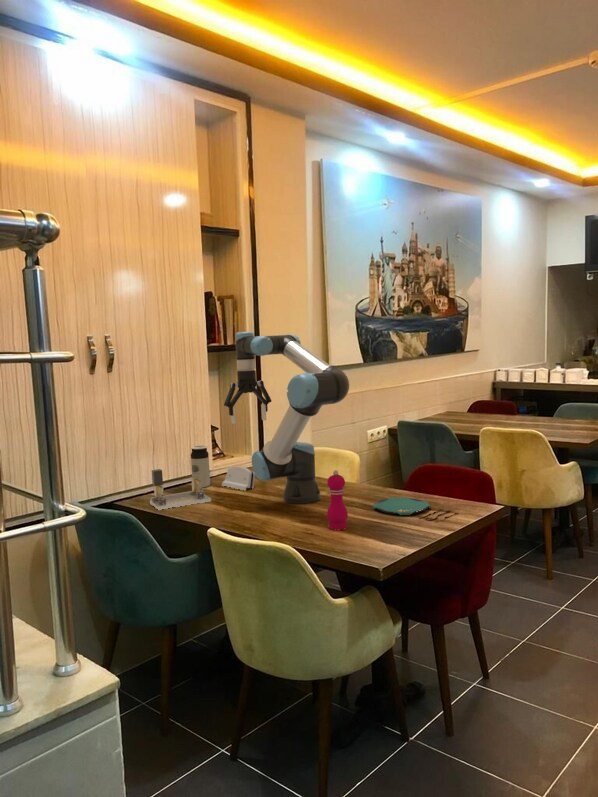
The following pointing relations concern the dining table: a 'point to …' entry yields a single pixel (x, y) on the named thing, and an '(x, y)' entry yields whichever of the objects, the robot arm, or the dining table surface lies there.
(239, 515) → the dining table surface
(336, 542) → the dining table surface
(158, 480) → the sliding leg
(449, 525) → the dining table surface
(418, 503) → the teal flat plaque
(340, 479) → the pepper mill
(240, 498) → the dining table surface
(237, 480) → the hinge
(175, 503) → the bolt plate
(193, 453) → the travel mug
